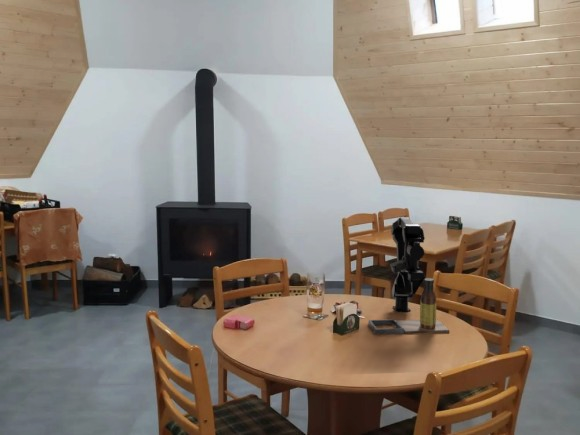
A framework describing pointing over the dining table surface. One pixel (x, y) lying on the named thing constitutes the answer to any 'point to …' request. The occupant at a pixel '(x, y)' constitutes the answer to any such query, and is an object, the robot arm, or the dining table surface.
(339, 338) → the dining table surface
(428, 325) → the sauce bottle
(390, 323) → the grey square frame
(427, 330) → the brown flat slab
